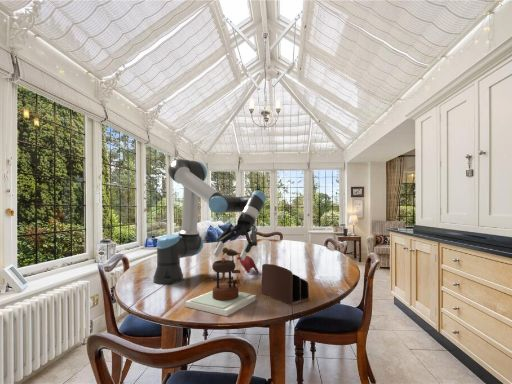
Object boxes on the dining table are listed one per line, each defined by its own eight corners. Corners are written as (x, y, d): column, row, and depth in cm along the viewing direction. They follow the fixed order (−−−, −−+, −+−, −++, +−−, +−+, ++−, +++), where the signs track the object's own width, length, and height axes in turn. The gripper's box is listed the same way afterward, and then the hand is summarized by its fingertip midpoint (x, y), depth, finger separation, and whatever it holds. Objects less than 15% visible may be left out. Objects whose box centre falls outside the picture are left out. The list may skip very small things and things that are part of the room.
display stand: (185, 306, 116) (185, 300, 116) (217, 293, 133) (217, 287, 133) (226, 316, 105) (226, 309, 105) (255, 300, 122) (255, 294, 122)
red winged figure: (248, 274, 185) (232, 257, 184) (259, 264, 186) (242, 247, 185) (252, 287, 157) (233, 267, 156) (265, 275, 158) (246, 254, 157)
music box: (237, 290, 128) (238, 244, 127) (245, 300, 117) (246, 250, 116) (202, 294, 122) (203, 246, 121) (207, 305, 112) (208, 252, 111)
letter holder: (291, 306, 116) (291, 269, 116) (261, 293, 132) (260, 262, 132) (309, 301, 122) (308, 266, 122) (278, 289, 138) (277, 259, 138)
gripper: (274, 224, 131) (257, 265, 118) (229, 222, 144) (209, 259, 131) (268, 213, 127) (249, 253, 113) (222, 212, 140) (201, 248, 127)
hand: (228, 256), depth 122 cm, fingers open, 13 cm apart
